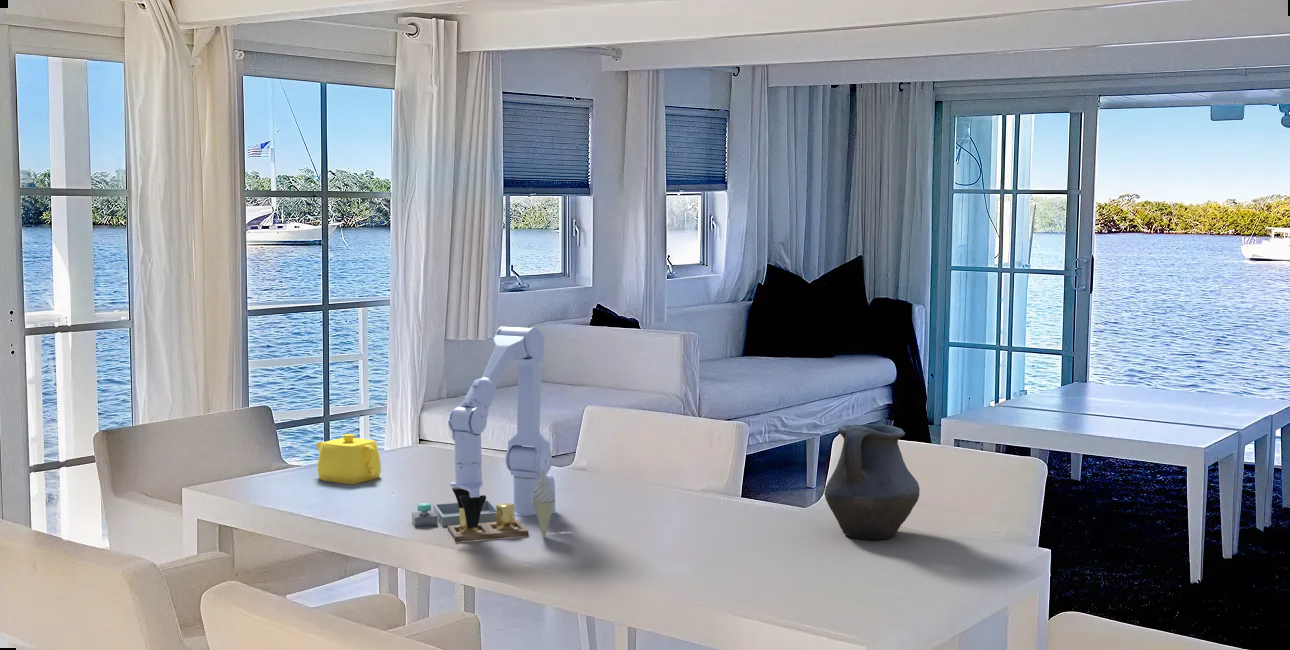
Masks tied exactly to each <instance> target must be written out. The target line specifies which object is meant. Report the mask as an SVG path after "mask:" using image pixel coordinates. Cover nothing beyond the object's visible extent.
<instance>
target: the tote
mask: <svg viewBox="0 0 1290 650" xmlns="http://www.w3.org/2000/svg"><path fill="white" fill-rule="evenodd" d="M432 511H434V512H435V513H436V515H437V520H438V522H439V523H440V525H441V527H446V526H447V527H448V526H451V525H460V520H459V506H458V502H457V501H456V502H444V503H434V504H432ZM488 522H496V506H495V504H494V503H492V502H491V500H490V499H486V500H485V502H484V504H483V506H482V509H481V513H480V519H479V523H488Z"/></svg>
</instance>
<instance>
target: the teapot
mask: <svg viewBox="0 0 1290 650" xmlns="http://www.w3.org/2000/svg"><path fill="white" fill-rule="evenodd" d="M315 445H316V447H317V450H318V452H319V453H318V460H317V461H318V463H317V474H318V477H319V480H321V481H324V482H330V483H335V482H336V483H338V484H345V485H356V484H361V483H364V482H369V481H372V480H376V479H379V478H380V476H381V472H382V471H381V470H382V467H381V458H380V457H381V456H380V452H379V446H378V444H377V441H376V440H373V439H365V438H359V437H355V434H354V433H345V434H342V437H341V438H335V439H331V440H327V441H320V442H316V443H315ZM336 483H335V484H336Z"/></svg>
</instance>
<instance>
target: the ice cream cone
mask: <svg viewBox="0 0 1290 650" xmlns="http://www.w3.org/2000/svg"><path fill="white" fill-rule="evenodd" d="M549 483H550V481H549V480H548V478H547V476H546V474H545V472H544V469H543V471H542V474H541V476H540V479H539V480H538V485H537V487H536V488H535V490H534V491H533V492H532V493H533V497H532V499H533V500H532V502H533V504H534V507H535V511H536V514H537V515H536V518H537V521H538V525H539V528H540V531H541V533H542V538H546V537H547V531H548V528H549V523H550V520H551V518H552V514H553V513H552V509H553V505H554V502H555V503H556V490H555V491H554V489H553V488H552V487H551V486H550V484H549Z"/></svg>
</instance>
